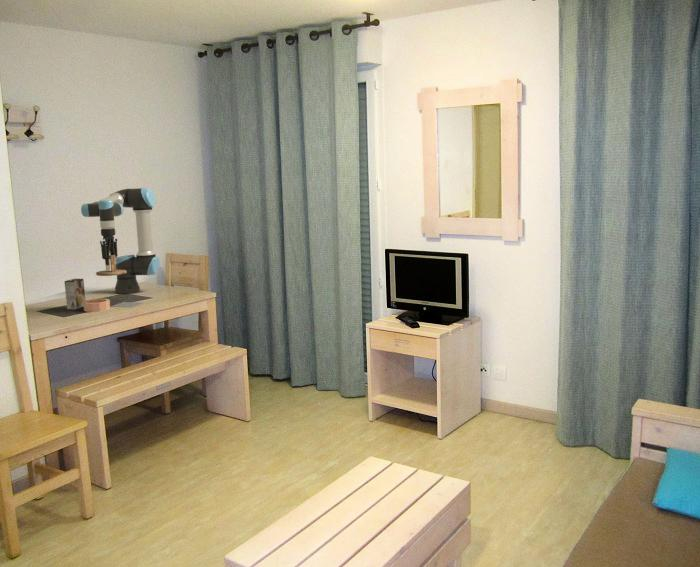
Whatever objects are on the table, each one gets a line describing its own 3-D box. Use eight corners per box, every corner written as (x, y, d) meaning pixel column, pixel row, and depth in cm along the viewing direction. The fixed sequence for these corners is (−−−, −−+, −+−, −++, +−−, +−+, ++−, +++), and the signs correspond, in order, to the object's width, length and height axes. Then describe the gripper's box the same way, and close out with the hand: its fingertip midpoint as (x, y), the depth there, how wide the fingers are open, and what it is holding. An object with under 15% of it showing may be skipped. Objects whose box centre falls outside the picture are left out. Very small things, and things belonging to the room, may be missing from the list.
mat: (123, 302, 399) (123, 302, 399) (144, 303, 396) (144, 302, 396) (109, 307, 386) (109, 306, 386) (131, 308, 382) (131, 307, 382)
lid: (106, 271, 392) (105, 253, 390) (132, 271, 388) (130, 253, 387) (90, 275, 377) (88, 257, 375) (116, 276, 373) (114, 257, 371)
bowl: (93, 307, 388) (93, 298, 387) (114, 307, 385) (114, 299, 384) (79, 312, 375) (78, 303, 374) (100, 312, 372) (99, 303, 371)
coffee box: (76, 306, 393) (73, 278, 390) (86, 306, 392) (83, 278, 389) (66, 309, 384) (64, 281, 381) (77, 309, 383) (74, 281, 380)
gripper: (110, 227, 387) (113, 268, 391) (92, 229, 371) (96, 272, 375) (122, 227, 386) (125, 268, 389) (105, 229, 369) (108, 272, 373)
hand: (111, 270), depth 382 cm, fingers closed on lid, 4 cm apart
